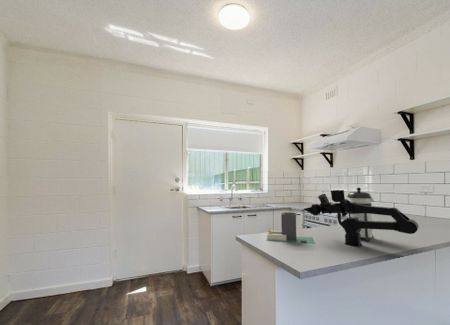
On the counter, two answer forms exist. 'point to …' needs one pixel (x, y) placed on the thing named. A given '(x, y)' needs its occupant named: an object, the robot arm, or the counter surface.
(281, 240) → the board
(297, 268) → the counter surface
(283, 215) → the grey tall block
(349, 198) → the coffee press
